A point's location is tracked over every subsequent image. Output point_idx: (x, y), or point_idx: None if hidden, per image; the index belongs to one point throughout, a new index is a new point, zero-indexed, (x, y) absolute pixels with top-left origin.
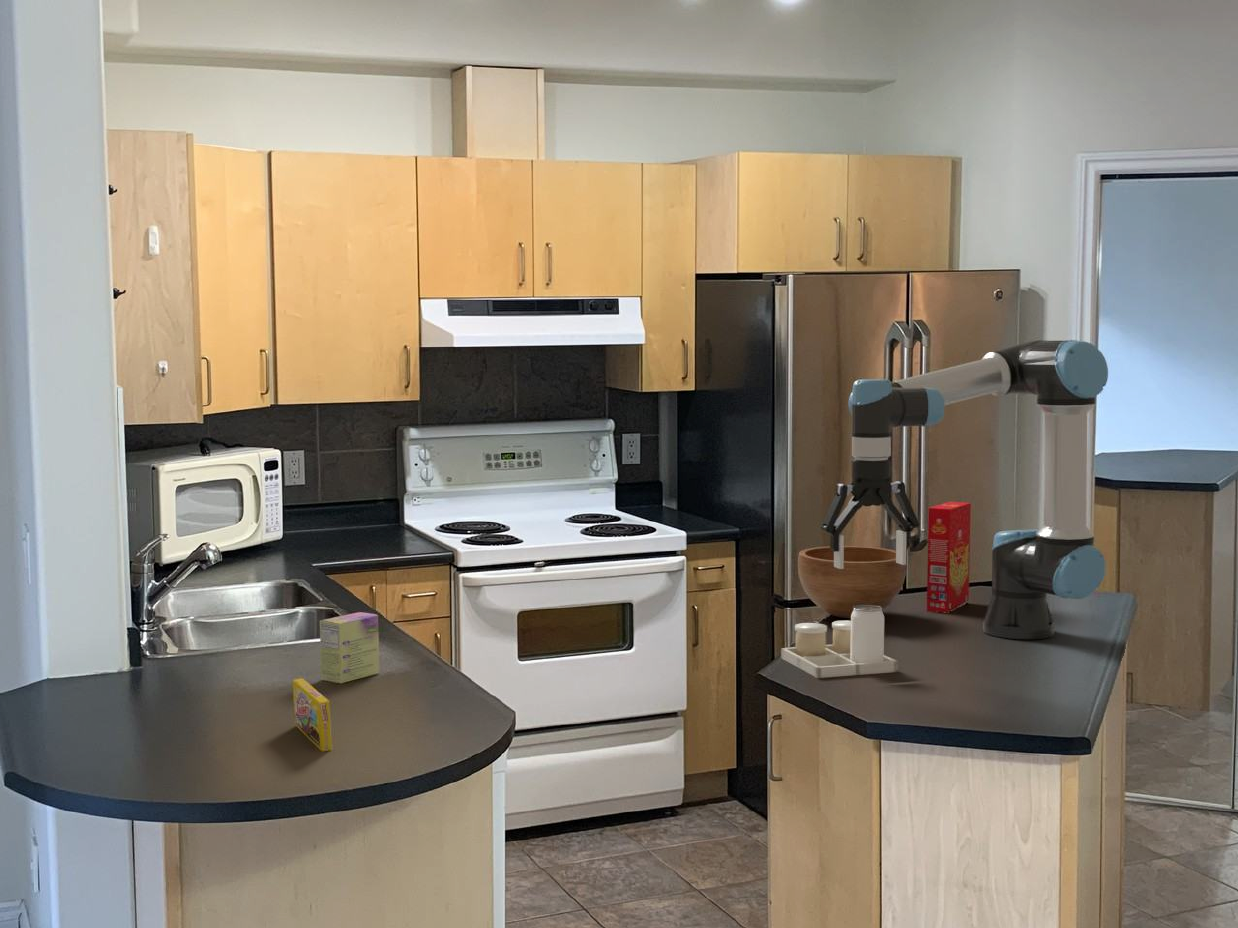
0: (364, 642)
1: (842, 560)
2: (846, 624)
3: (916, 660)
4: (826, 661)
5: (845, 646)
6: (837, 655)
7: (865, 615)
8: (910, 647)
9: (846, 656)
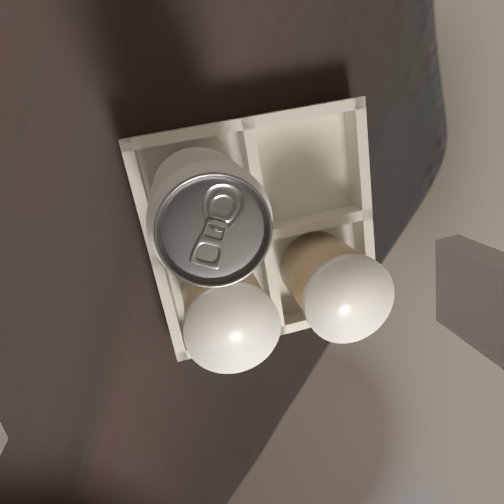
0: None
1: (482, 257)
2: (241, 320)
3: (32, 277)
4: (295, 220)
5: None
6: None
7: (238, 172)
8: (19, 408)
9: None
